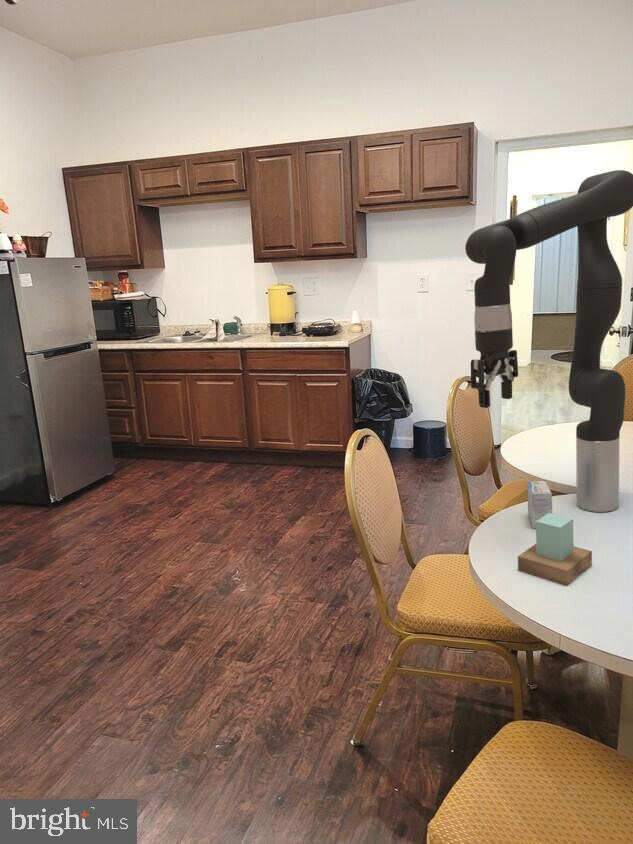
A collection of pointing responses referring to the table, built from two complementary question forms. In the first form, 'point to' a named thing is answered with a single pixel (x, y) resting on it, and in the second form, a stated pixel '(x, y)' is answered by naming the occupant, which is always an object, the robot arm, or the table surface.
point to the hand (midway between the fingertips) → (496, 402)
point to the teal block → (554, 536)
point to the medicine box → (538, 500)
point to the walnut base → (555, 565)
